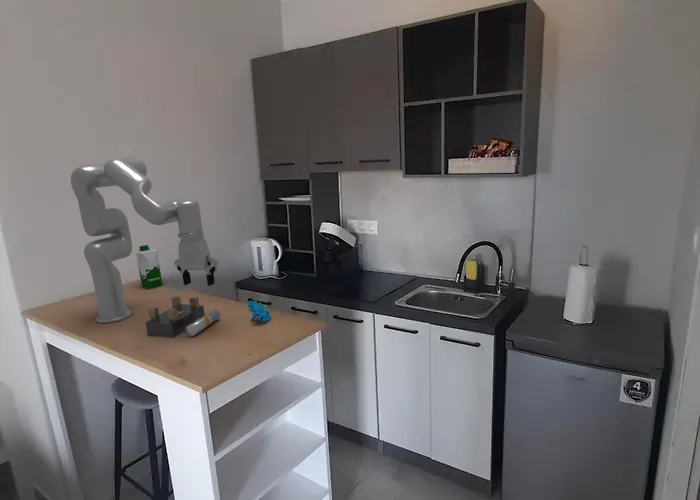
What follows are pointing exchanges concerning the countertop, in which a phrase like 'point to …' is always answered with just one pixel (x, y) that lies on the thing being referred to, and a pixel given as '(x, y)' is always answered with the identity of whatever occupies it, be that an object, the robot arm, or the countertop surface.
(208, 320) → the tube
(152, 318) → the grey plate with feet
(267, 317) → the gear
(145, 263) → the milk carton
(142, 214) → the robot arm
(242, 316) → the countertop surface
